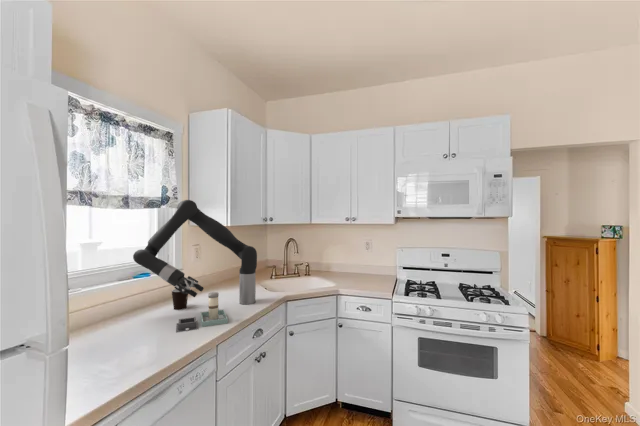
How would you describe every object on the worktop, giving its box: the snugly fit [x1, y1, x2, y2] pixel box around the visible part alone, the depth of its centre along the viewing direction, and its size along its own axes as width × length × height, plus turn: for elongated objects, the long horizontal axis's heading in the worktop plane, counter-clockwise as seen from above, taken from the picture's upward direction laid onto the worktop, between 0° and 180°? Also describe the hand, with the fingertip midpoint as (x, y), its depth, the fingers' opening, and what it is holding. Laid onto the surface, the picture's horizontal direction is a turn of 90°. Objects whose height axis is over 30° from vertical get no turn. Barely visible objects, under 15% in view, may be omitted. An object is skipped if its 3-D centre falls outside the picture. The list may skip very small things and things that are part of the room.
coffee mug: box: [171, 288, 189, 311], centre depth 164 cm, size 12×9×10 cm
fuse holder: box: [175, 316, 199, 333], centre depth 132 cm, size 12×9×4 cm
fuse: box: [207, 291, 220, 321], centre depth 141 cm, size 5×5×13 cm
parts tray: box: [200, 309, 229, 328], centre depth 141 cm, size 15×11×3 cm
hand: (199, 292), depth 147 cm, fingers open, 8 cm apart
